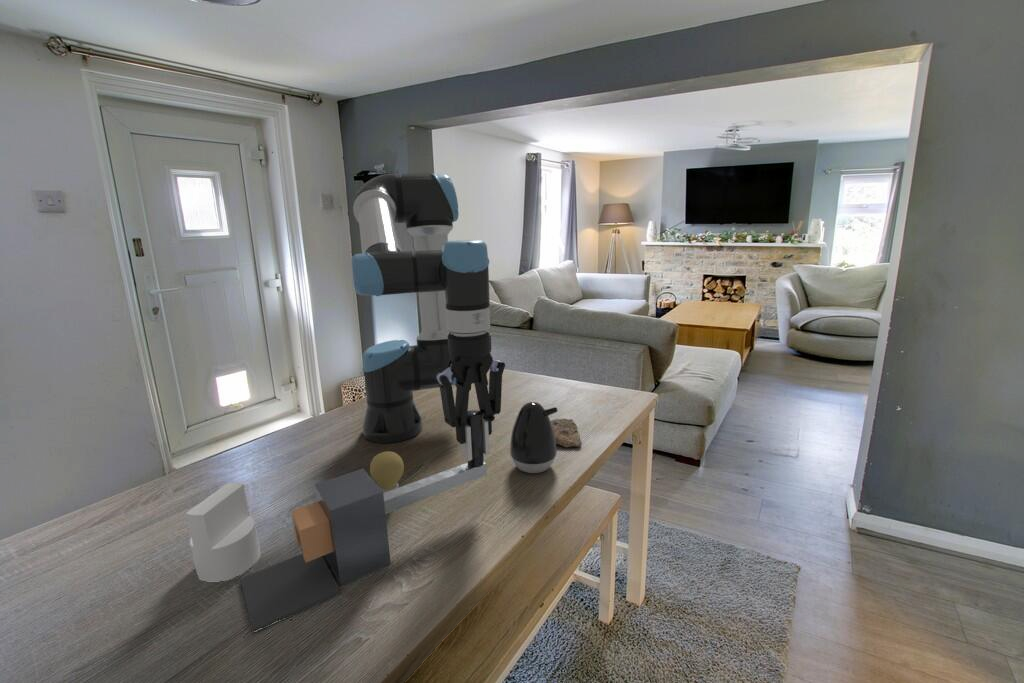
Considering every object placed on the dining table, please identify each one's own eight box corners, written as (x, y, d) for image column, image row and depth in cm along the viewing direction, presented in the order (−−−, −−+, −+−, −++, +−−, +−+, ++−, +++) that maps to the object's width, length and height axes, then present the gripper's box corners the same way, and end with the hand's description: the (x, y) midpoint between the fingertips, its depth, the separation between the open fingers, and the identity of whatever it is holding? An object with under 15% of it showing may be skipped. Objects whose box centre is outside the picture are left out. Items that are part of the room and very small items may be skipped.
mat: (240, 581, 74) (240, 578, 74) (318, 550, 81) (318, 547, 80) (253, 633, 65) (252, 629, 64) (340, 593, 71) (339, 590, 71)
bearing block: (324, 554, 80) (313, 484, 76) (371, 535, 84) (363, 468, 81) (340, 586, 73) (330, 510, 69) (390, 563, 77) (383, 491, 74)
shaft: (323, 527, 76) (312, 456, 72) (478, 469, 92) (475, 409, 89) (328, 537, 73) (317, 464, 70) (487, 475, 89) (484, 413, 86)
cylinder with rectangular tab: (233, 586, 73) (219, 517, 70) (183, 580, 75) (167, 512, 72) (272, 547, 82) (261, 484, 79) (225, 542, 83) (213, 480, 80)
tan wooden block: (296, 541, 75) (291, 510, 74) (322, 531, 77) (318, 501, 76) (305, 562, 70) (300, 530, 69) (333, 551, 72) (328, 519, 71)
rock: (540, 434, 122) (548, 445, 112) (544, 412, 122) (553, 420, 112) (572, 440, 123) (583, 451, 113) (577, 417, 123) (588, 426, 113)
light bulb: (377, 512, 91) (372, 464, 88) (370, 495, 96) (365, 450, 94) (410, 502, 93) (406, 456, 91) (401, 487, 99) (397, 443, 96)
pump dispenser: (554, 481, 100) (554, 413, 96) (506, 477, 102) (503, 410, 98) (560, 457, 109) (560, 395, 105) (515, 454, 111) (513, 393, 107)
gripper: (437, 343, 75) (446, 477, 81) (519, 328, 84) (522, 449, 90) (417, 334, 81) (426, 459, 87) (495, 321, 90) (499, 435, 96)
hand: (475, 454), depth 89 cm, fingers closed on shaft, 3 cm apart
